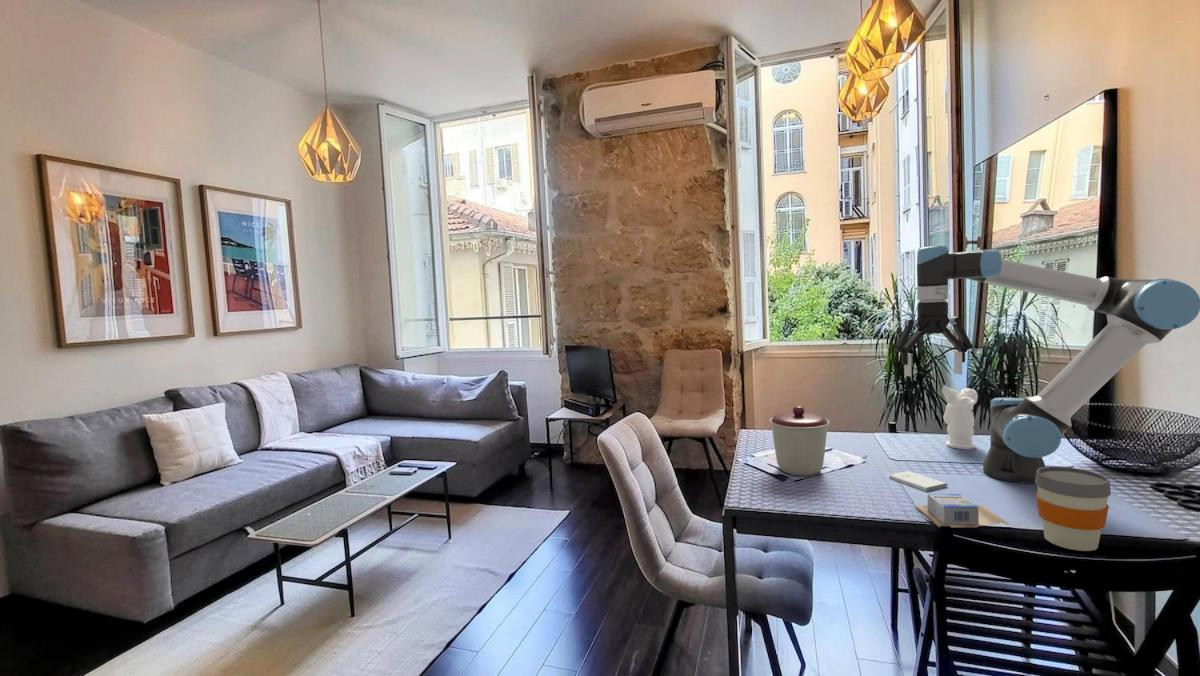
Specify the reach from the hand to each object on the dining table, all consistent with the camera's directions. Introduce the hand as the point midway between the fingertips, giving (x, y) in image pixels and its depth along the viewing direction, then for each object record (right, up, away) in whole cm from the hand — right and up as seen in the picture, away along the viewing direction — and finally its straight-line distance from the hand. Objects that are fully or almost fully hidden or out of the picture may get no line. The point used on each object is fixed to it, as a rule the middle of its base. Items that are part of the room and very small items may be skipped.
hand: (932, 374), depth 155 cm
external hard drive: (-3, -32, +3) cm, 33 cm away
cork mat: (-6, -34, -21) cm, 41 cm away
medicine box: (-10, -32, -27) cm, 43 cm away
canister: (-32, -32, +18) cm, 49 cm away
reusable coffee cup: (+8, -35, -36) cm, 51 cm away
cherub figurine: (+30, -28, +32) cm, 52 cm away
